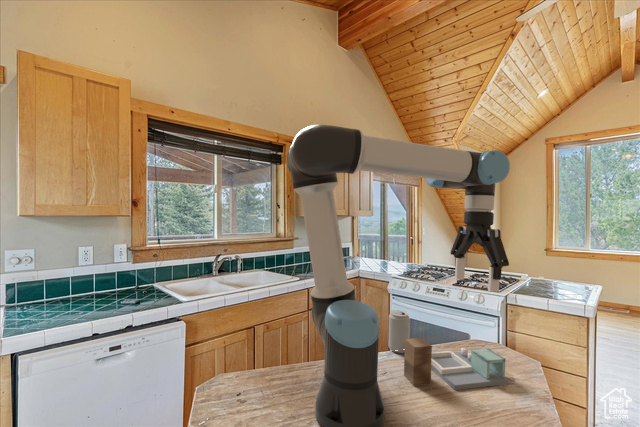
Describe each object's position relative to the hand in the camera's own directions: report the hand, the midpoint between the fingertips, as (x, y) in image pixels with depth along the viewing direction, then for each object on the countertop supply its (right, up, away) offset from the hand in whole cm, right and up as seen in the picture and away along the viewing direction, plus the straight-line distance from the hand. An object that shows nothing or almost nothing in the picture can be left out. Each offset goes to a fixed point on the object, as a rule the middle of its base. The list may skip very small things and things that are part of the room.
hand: (475, 285), depth 87 cm
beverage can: (-19, -24, +11) cm, 33 cm away
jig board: (-4, -24, -1) cm, 25 cm away
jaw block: (-19, -24, -6) cm, 31 cm away
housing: (+1, -23, -4) cm, 23 cm away
